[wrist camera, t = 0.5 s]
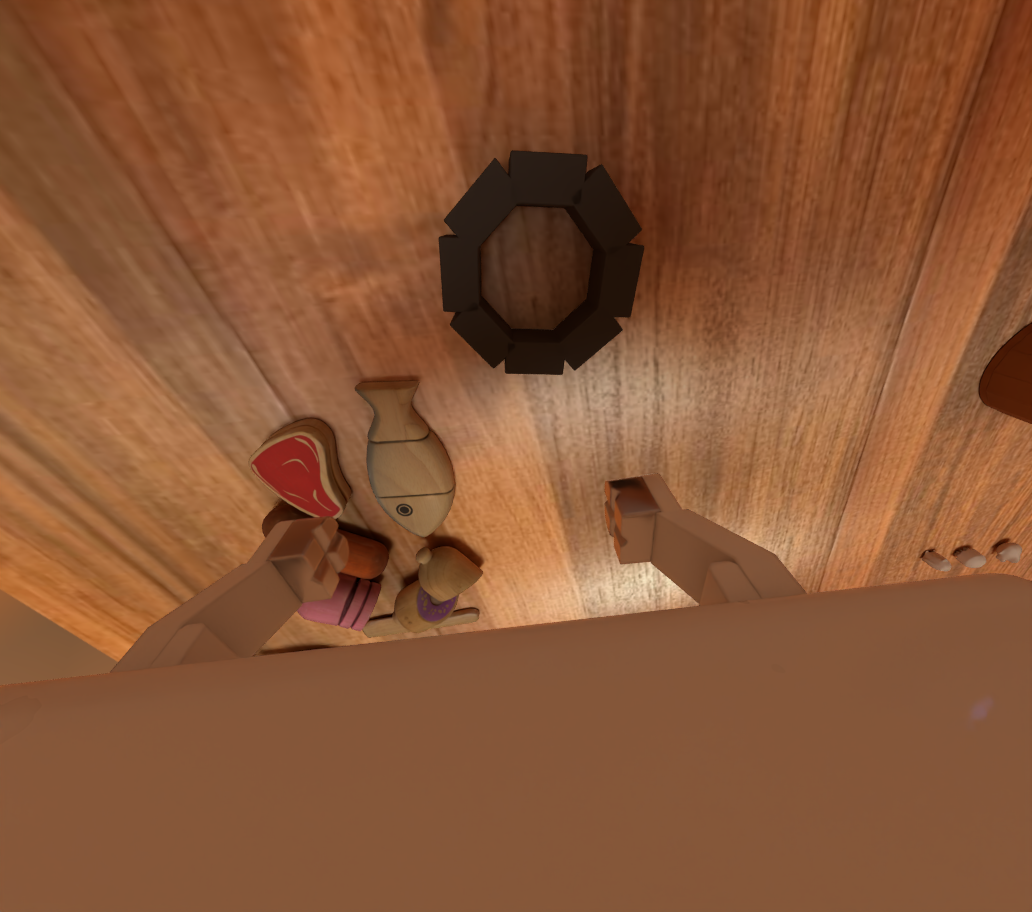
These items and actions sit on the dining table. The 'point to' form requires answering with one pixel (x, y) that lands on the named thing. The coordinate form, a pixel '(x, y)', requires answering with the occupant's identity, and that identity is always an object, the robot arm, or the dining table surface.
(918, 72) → the dining table surface
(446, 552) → the toy food set
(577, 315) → the black segmented bracelet
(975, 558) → the game pieces
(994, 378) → the amber bottle
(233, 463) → the dining table surface
